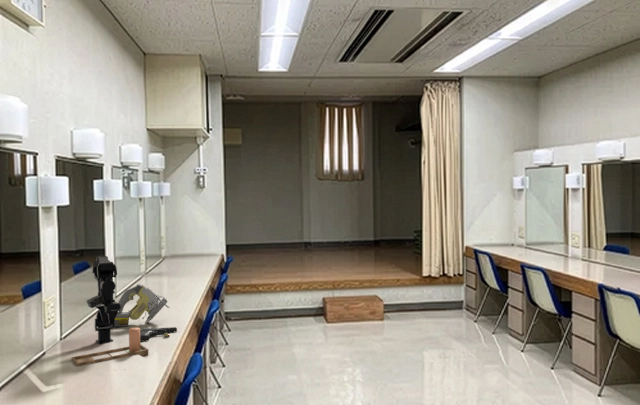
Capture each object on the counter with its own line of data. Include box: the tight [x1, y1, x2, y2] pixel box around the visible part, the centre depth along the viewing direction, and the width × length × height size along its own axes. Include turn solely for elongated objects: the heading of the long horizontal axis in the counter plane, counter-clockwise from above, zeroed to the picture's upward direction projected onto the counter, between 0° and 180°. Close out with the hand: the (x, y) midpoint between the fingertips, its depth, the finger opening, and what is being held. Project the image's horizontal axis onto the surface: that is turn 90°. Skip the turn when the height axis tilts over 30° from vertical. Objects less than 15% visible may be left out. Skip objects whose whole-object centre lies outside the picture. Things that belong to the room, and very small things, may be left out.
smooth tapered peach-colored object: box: [128, 327, 141, 352], centre depth 229 cm, size 5×5×10 cm
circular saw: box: [111, 283, 170, 327], centre depth 284 cm, size 10×30×25 cm
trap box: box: [71, 343, 149, 367], centre depth 222 cm, size 30×11×2 cm, turn 127°
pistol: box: [140, 326, 178, 342], centre depth 258 cm, size 3×20×15 cm
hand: (107, 322), depth 235 cm, fingers open, 9 cm apart
